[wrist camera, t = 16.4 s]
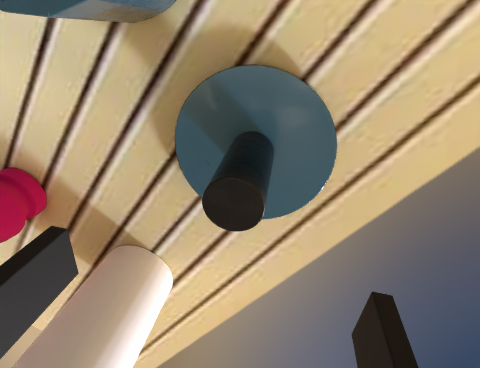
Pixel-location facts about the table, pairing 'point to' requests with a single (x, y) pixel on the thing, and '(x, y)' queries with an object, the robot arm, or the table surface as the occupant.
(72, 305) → the cylinder container
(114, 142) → the table surface
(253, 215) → the lid
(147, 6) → the pot
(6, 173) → the pepper mill
